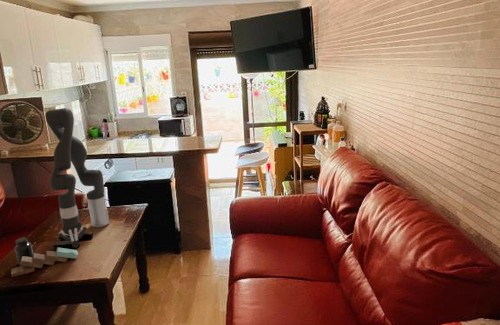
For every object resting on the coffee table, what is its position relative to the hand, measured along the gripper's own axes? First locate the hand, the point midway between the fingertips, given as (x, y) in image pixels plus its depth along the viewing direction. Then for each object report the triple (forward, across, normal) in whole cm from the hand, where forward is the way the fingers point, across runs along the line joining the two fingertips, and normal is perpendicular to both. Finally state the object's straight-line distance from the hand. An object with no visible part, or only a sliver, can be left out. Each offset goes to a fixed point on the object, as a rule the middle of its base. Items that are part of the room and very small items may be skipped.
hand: (75, 246), depth 178 cm
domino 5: (+4, 0, 0) cm, 4 cm away
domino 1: (+4, -15, 0) cm, 16 cm away
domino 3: (+4, -10, 0) cm, 11 cm away
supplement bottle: (+5, -22, +9) cm, 24 cm away
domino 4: (+4, -5, 0) cm, 6 cm away
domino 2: (+4, -18, 0) cm, 19 cm away
